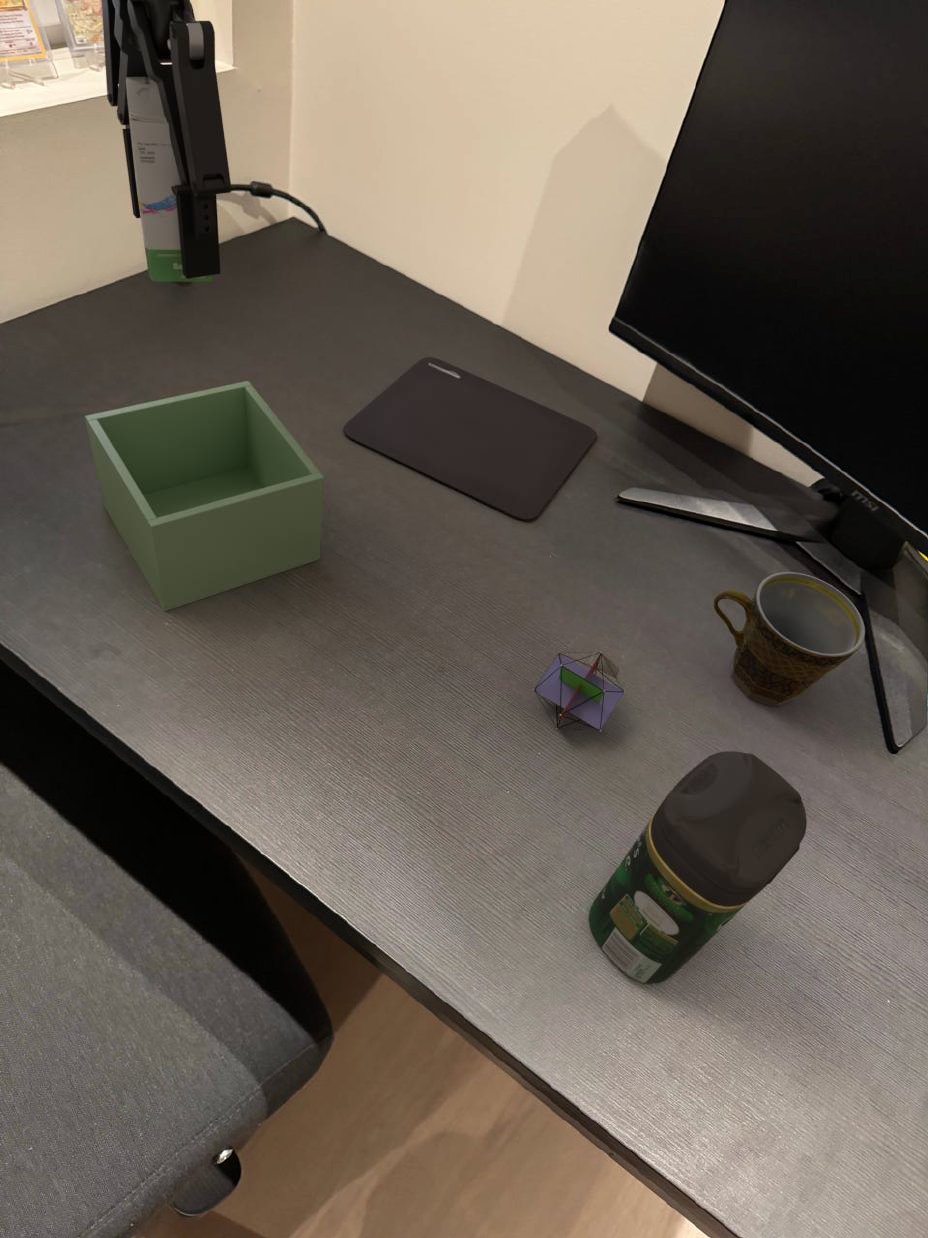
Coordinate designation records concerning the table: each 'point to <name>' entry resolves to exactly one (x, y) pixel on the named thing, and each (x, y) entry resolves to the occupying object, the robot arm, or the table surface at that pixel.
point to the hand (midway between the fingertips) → (175, 242)
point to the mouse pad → (473, 436)
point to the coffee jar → (697, 864)
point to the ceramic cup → (791, 635)
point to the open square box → (207, 491)
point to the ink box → (155, 181)
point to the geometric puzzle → (581, 689)
